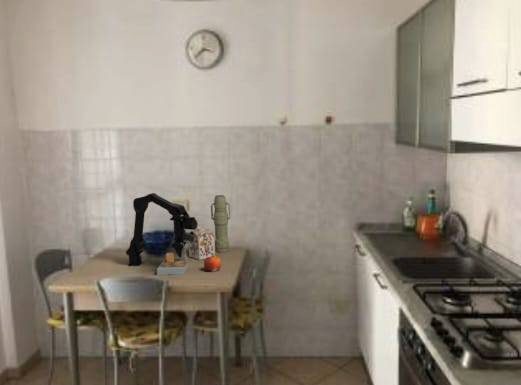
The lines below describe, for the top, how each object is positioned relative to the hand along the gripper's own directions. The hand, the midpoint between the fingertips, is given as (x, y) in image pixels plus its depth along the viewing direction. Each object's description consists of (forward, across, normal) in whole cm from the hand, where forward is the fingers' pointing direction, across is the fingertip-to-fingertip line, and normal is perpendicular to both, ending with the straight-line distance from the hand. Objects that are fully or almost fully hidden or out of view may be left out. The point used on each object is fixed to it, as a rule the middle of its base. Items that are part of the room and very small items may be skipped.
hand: (180, 256), depth 269 cm
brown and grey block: (+4, 0, +3) cm, 5 cm away
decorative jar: (+8, +27, -8) cm, 29 cm away
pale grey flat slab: (+8, 0, +5) cm, 9 cm away
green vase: (+8, +40, -20) cm, 45 cm away
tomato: (+8, -2, -17) cm, 19 cm away
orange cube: (+2, 0, +6) cm, 6 cm away
